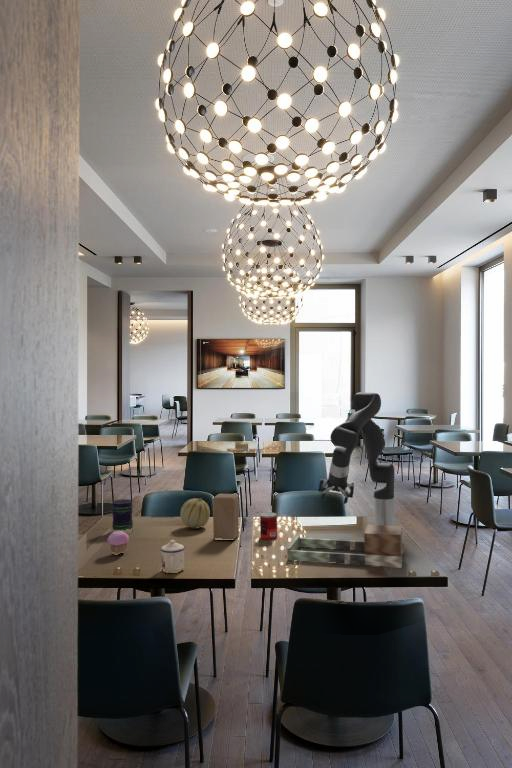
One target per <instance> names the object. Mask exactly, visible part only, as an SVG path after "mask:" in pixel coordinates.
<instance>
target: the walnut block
mask: <svg viewBox="0 0 512 768" xmlns="http://www.w3.org/2000/svg"><path fill="white" fill-rule="evenodd" d="M402 530H403V529H402V525H396V526H384V525H374V524H366V527H365V530H364V533H363V535H364V537H363V538H364V540H363V541H364V546H365V551H364V554H365V555H382V556H399V557H402V558H403V553H402V543H403V540H402V539H403V538H402V536H403V535H402Z"/></svg>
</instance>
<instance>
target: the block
mask: <svg viewBox="0 0 512 768" xmlns="http://www.w3.org/2000/svg"><path fill="white" fill-rule="evenodd" d="M212 521H213V522H212V524H213V525H212V526H213V539H214V538H222V539H235V538H236V537H237V536H238V537H239V534H240V531H239V529H240V528H239V526H240V523H239V495H238V494H237V493H218V494H217V495H215V496H213V498H212ZM238 537H237V538H238ZM237 538H236V539H237ZM236 539H235V540H236Z"/></svg>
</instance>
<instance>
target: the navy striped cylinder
mask: <svg viewBox="0 0 512 768" xmlns="http://www.w3.org/2000/svg"><path fill="white" fill-rule="evenodd" d="M111 504H112V505H111V512H112V513H111V514H112V526H111V527H112V530H113V529H114V530H126V529H131V528H132V527H133V528H134V522H133V500H132V499H116V500H113V501H112V502H111Z"/></svg>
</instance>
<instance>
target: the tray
mask: <svg viewBox="0 0 512 768" xmlns="http://www.w3.org/2000/svg"><path fill="white" fill-rule="evenodd" d="M299 547H315V548H314V549H316V548H333V549H334V548H335V549H345V550H344V551H351V550H359V551H358V552H365V546H364V540H351V539H350V540H347V539H333V538H332V539H331V538H311V537H301V535H300V534H299V535H298V534H297V535H296V536H295V537H294V539H293V540H292V541H291V543H290V544H289V545H288V547H287V548H286V550H287V552H286V553H287V554H286V559H287V560H297V561H296V562H302V561H317V562H336V563H345V564H344V565H349V564H359V565H358V566H364V565H376V566H375V567H380V566H385V568H397V569H399V568H400V569H401V568H403V556H402V557H399V556H382V555H365V553H364V554H362V553H345V552H328V551H311V550H299V549H300V548H299ZM298 548H299V549H298ZM333 549H332V550H333ZM402 554H404V543H403V542H402ZM317 562H316V563H317Z"/></svg>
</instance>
